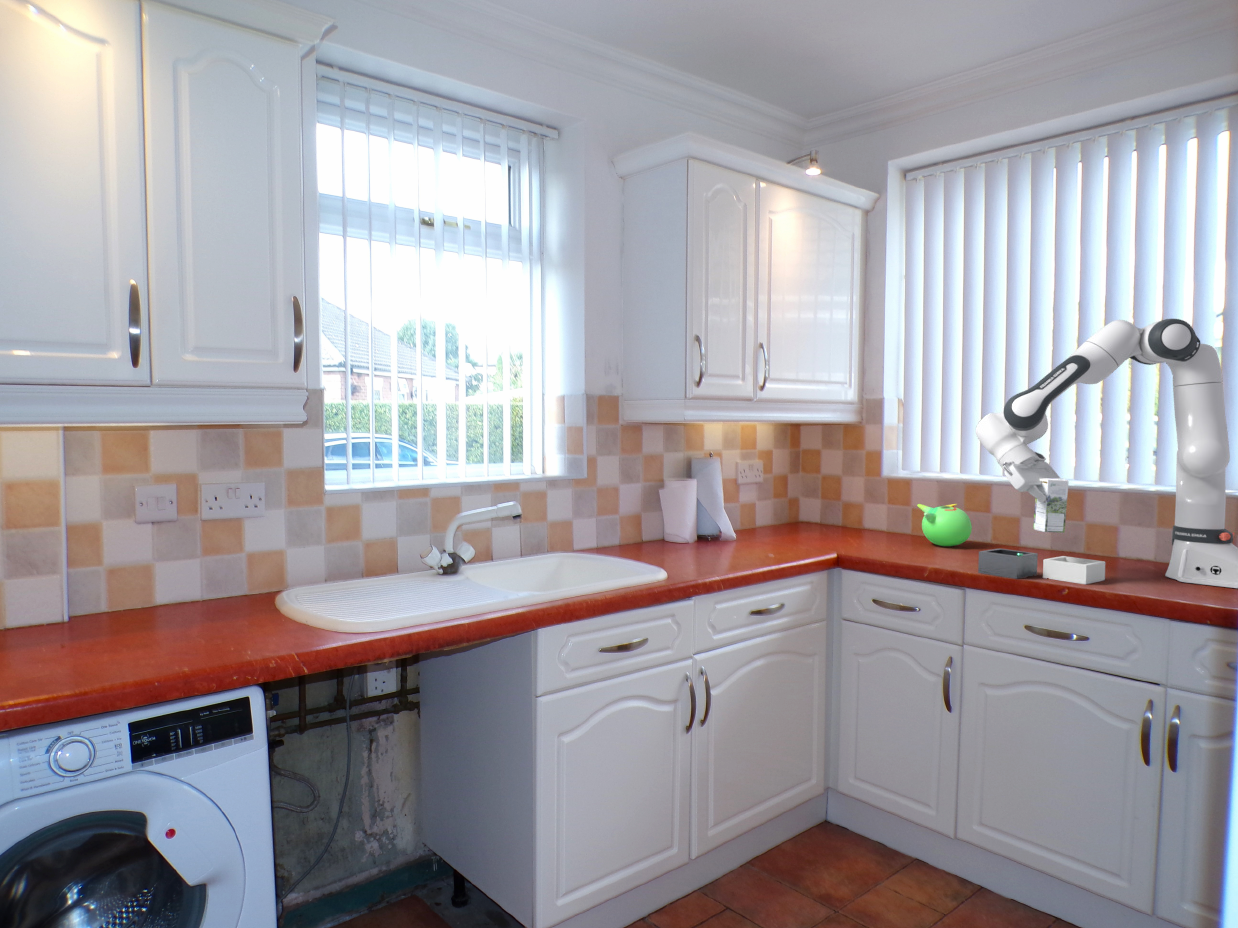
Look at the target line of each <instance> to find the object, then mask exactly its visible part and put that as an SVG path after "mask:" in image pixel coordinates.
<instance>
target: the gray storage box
mask: <svg viewBox="0 0 1238 928" xmlns="http://www.w3.org/2000/svg"><path fill="white" fill-rule="evenodd" d="M1038 556H1039V555H1038V552H1036V553H1035V552H1031V551H1030V552H1029V551H1024V550H1023V551H1021V550H1014V549H1007V548H993V549H986V550H981V551H978V563H977V564H978V565H977V567H978V568H977V573H978V574H983V575H989V576H990V575H991V576H996V577H1000V578H1001V577H1002V578H1008V579H1014V580H1019V579H1025V578H1027V577H1028V576H1029V577H1034V576H1037V575H1038V559H1039V558H1038ZM1033 575H1034V576H1033Z"/></svg>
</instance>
